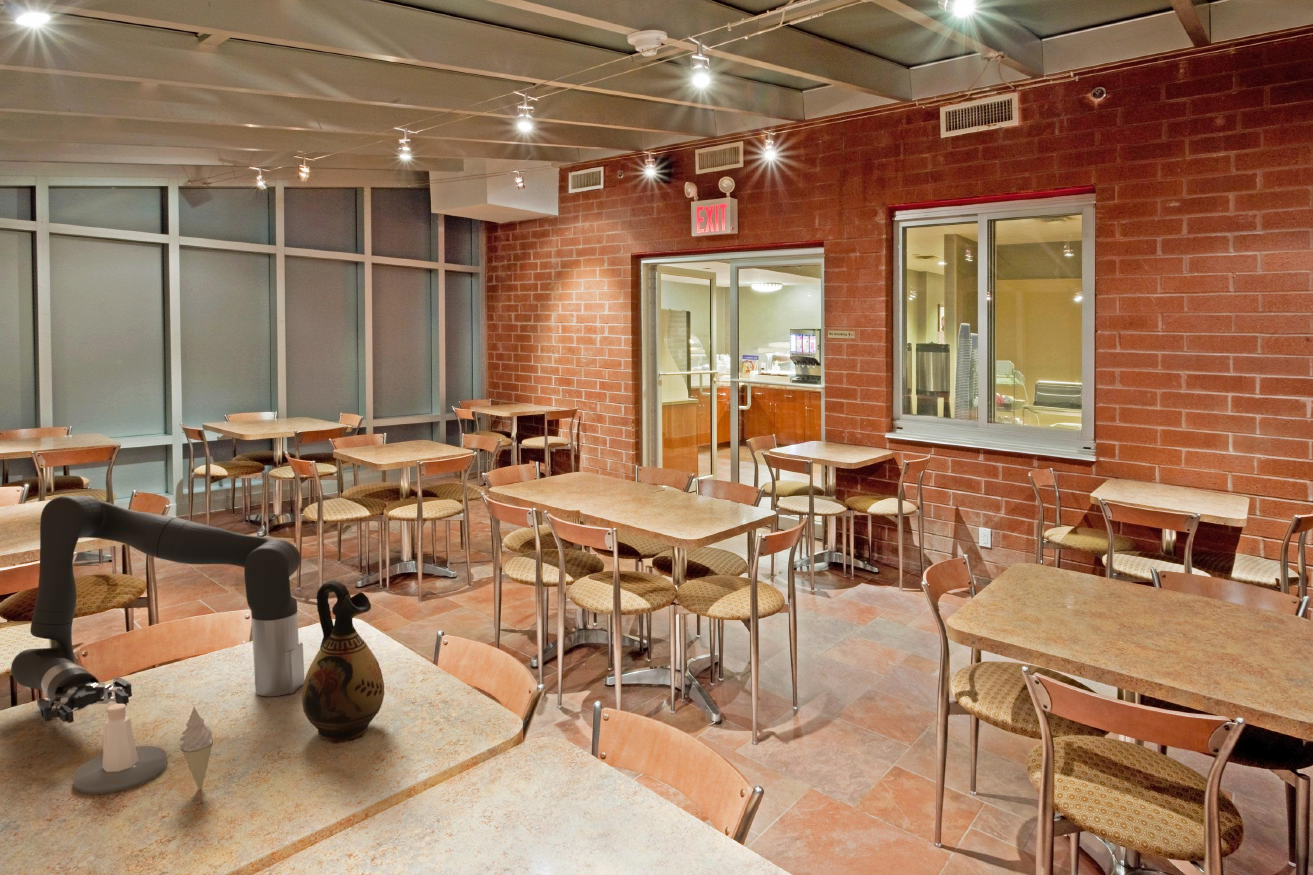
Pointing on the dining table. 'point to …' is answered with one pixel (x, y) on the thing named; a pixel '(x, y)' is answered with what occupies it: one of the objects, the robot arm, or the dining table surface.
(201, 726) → the ice cream cone
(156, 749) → the grey round coaster
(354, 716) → the ceramic jug
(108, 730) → the pepper shaker
